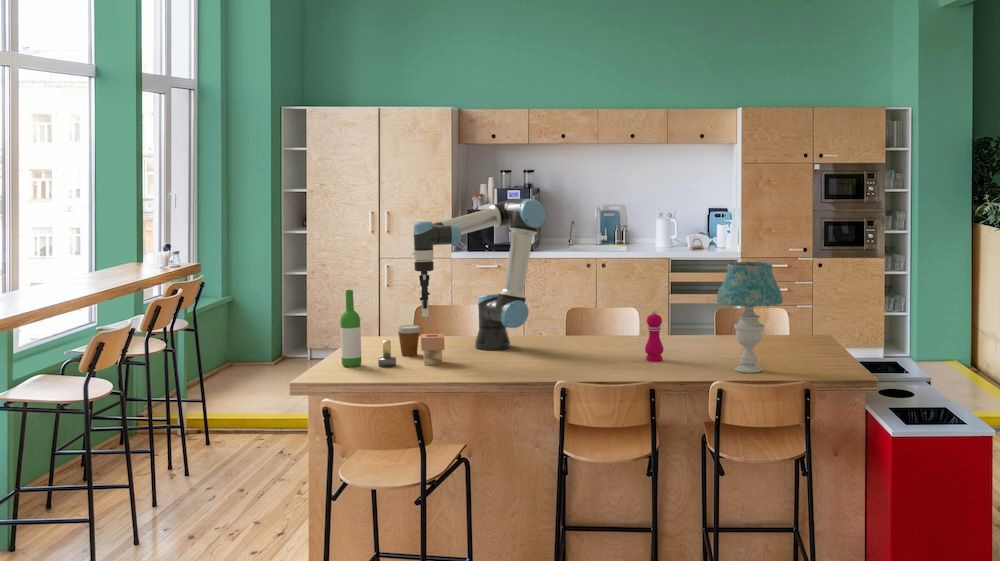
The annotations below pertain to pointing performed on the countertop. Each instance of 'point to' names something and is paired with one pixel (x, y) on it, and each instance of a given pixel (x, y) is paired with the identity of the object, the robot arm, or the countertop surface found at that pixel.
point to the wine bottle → (350, 334)
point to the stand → (432, 357)
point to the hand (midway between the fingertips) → (425, 314)
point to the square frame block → (432, 342)
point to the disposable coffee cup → (409, 339)
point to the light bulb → (387, 356)
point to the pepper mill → (654, 338)
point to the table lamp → (749, 304)
